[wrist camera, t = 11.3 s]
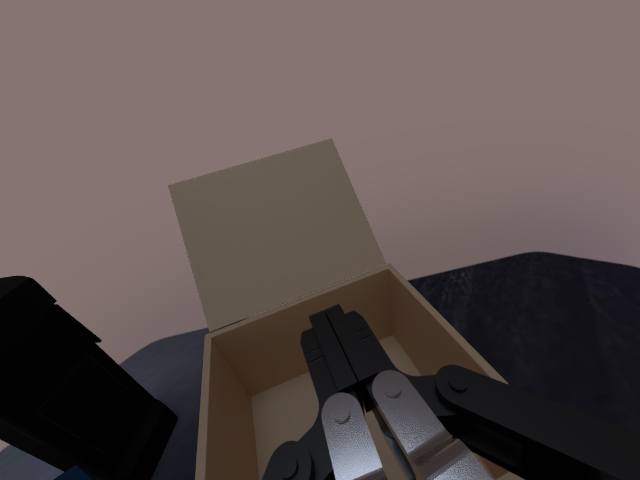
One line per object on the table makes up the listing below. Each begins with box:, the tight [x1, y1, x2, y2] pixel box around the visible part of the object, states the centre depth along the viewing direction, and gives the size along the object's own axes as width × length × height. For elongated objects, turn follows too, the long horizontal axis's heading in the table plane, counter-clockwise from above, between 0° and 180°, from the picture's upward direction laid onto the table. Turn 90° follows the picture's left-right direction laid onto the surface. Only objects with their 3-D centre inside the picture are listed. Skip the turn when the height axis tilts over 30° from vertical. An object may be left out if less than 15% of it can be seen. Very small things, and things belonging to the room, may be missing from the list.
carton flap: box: [169, 139, 386, 332], centre depth 28 cm, size 16×19×1 cm
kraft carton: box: [195, 264, 524, 480], centre depth 23 cm, size 18×20×12 cm
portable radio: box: [0, 276, 177, 480], centre depth 23 cm, size 8×6×25 cm
